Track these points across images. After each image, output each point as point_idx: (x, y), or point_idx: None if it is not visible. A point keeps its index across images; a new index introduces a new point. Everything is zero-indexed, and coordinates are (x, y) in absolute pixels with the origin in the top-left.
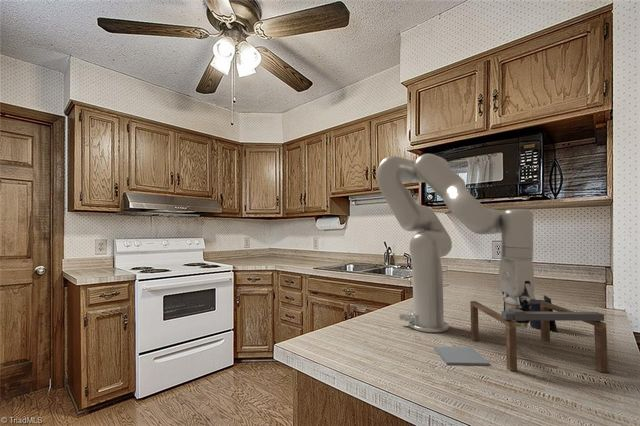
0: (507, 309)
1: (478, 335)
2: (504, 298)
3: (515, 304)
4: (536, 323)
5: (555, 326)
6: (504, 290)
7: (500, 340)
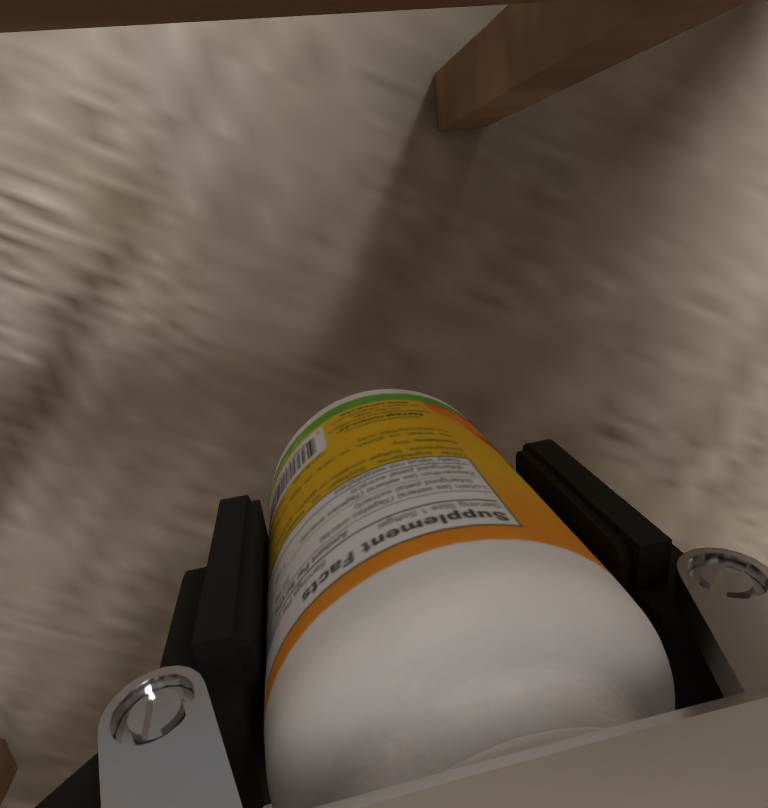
0: (379, 485)
1: (455, 119)
2: (727, 587)
3: (280, 672)
4: None
5: None
6: (715, 778)
7: (467, 335)
